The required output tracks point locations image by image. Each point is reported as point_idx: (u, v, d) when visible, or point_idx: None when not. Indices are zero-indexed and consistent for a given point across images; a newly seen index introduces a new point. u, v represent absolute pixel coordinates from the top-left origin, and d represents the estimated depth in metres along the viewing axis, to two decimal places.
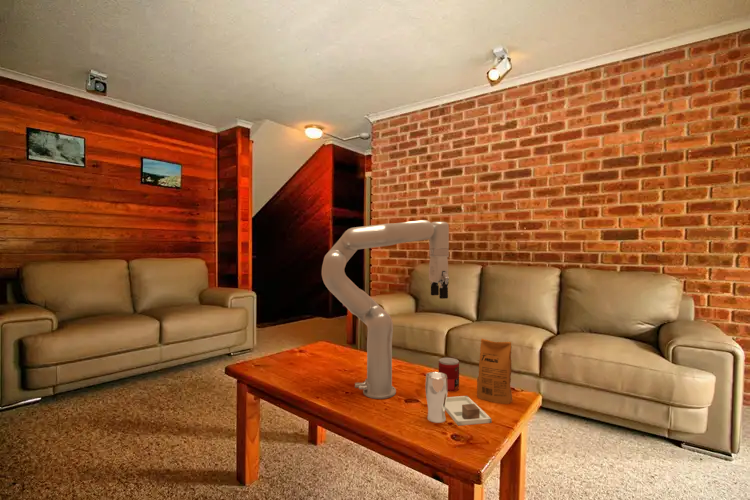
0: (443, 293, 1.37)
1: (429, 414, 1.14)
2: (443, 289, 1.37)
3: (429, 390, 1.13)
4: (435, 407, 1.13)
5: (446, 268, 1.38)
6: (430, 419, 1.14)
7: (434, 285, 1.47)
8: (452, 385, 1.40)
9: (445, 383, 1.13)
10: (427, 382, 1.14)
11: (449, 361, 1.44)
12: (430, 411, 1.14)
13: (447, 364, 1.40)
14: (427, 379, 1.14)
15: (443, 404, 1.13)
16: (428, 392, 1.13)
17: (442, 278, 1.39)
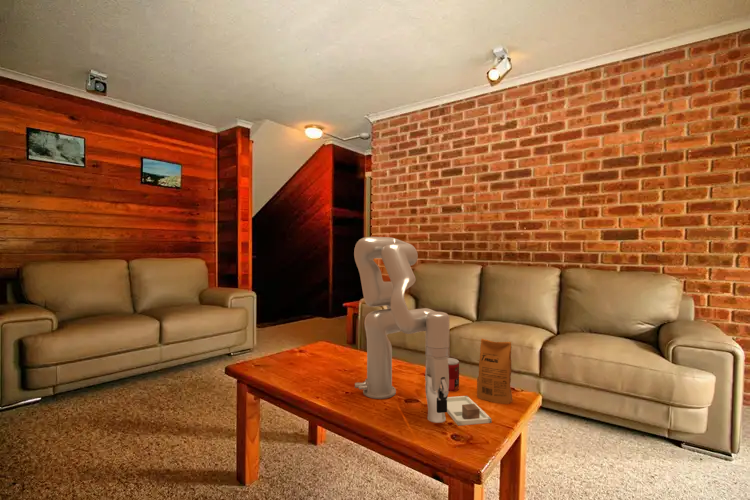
0: (441, 407, 1.11)
1: (429, 414, 1.14)
2: (441, 402, 1.11)
3: (429, 390, 1.13)
4: (435, 407, 1.13)
5: (446, 374, 1.11)
6: (430, 419, 1.14)
7: None
8: (452, 385, 1.40)
9: None
10: (427, 382, 1.14)
11: (449, 361, 1.44)
12: (430, 411, 1.14)
13: None
14: (427, 379, 1.14)
15: None
16: (428, 392, 1.14)
17: None
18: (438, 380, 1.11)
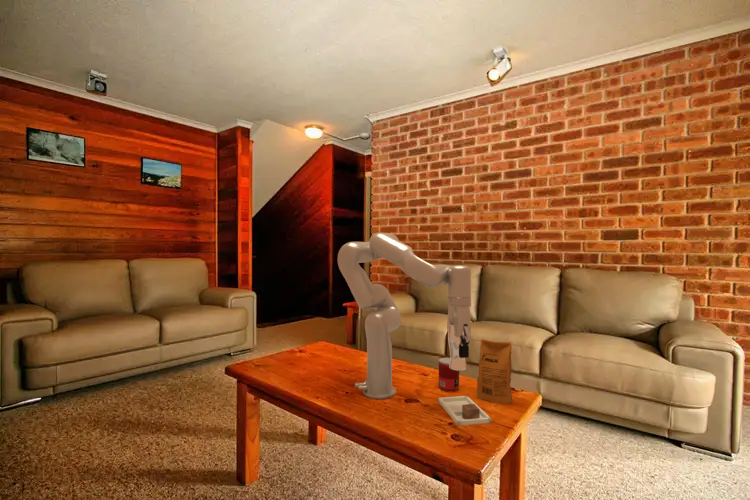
0: (463, 352, 1.19)
1: (451, 360, 1.22)
2: (463, 347, 1.19)
3: (452, 337, 1.21)
4: (458, 353, 1.21)
5: (468, 321, 1.19)
6: (452, 364, 1.22)
7: None
8: (452, 385, 1.40)
9: None
10: (450, 330, 1.22)
11: (449, 361, 1.44)
12: (452, 357, 1.22)
13: (447, 364, 1.40)
14: (450, 327, 1.22)
15: None
16: (451, 339, 1.21)
17: None
18: (461, 326, 1.18)
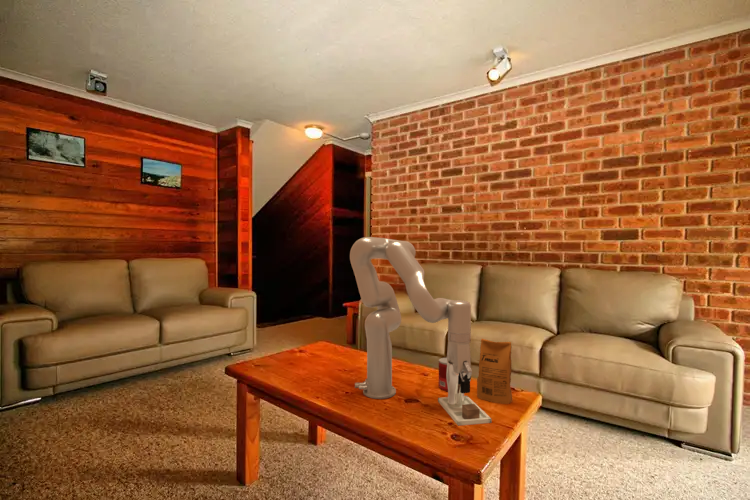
0: (465, 387, 1.18)
1: (449, 398, 1.24)
2: (465, 383, 1.18)
3: (450, 376, 1.22)
4: (456, 392, 1.22)
5: (468, 357, 1.19)
6: (450, 402, 1.23)
7: None
8: None
9: (465, 370, 1.22)
10: (448, 368, 1.23)
11: None
12: (450, 395, 1.23)
13: None
14: (448, 366, 1.23)
15: None
16: (450, 378, 1.22)
17: (463, 368, 1.20)
18: (461, 363, 1.18)
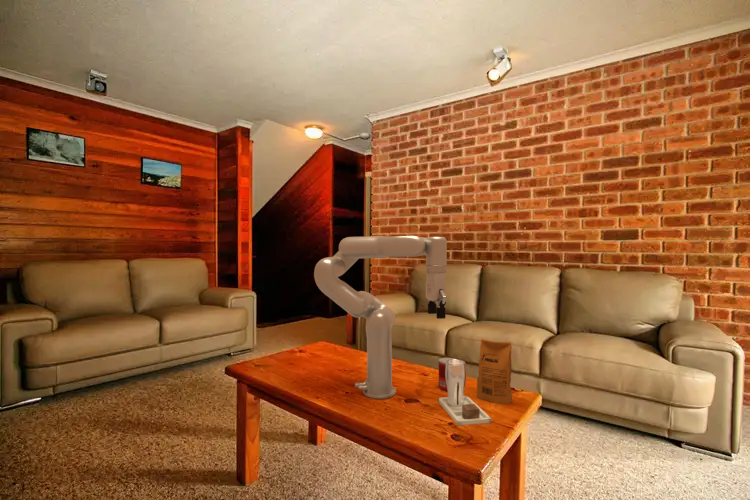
0: (440, 313, 1.29)
1: (449, 398, 1.24)
2: (440, 309, 1.29)
3: (449, 375, 1.23)
4: (455, 391, 1.22)
5: (444, 286, 1.30)
6: (450, 402, 1.23)
7: (431, 303, 1.39)
8: None
9: (464, 369, 1.23)
10: (447, 368, 1.24)
11: None
12: (450, 395, 1.24)
13: None
14: (447, 365, 1.24)
15: (462, 388, 1.23)
16: (449, 378, 1.23)
17: (439, 297, 1.31)
18: (437, 291, 1.29)
